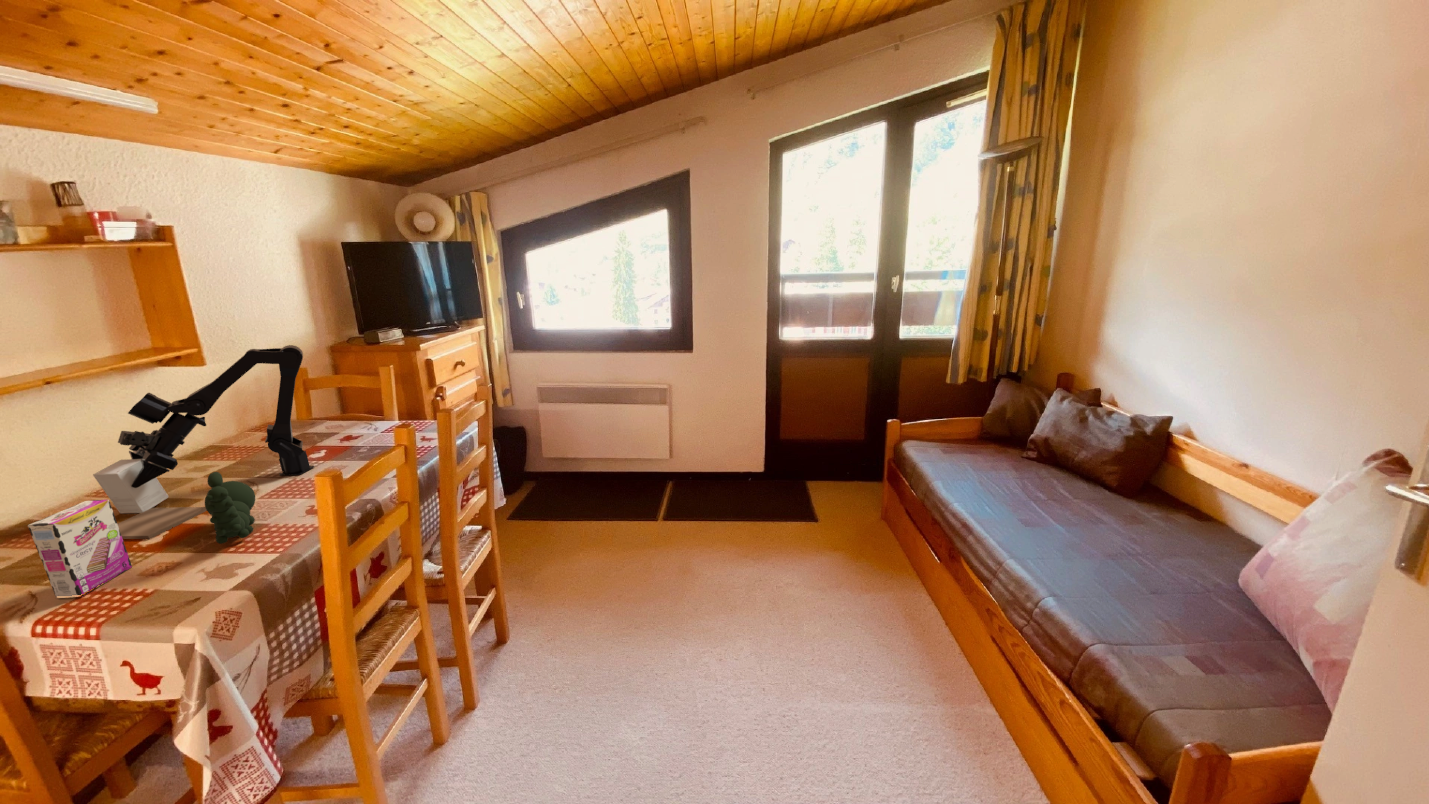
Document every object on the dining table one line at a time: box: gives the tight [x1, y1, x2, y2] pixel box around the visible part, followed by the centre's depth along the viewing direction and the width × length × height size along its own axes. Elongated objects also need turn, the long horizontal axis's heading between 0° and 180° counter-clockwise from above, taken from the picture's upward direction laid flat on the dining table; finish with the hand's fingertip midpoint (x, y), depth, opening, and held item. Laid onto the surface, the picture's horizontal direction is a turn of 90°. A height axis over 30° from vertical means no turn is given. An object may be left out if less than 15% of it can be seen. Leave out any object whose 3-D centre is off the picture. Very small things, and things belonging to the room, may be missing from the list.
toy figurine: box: [204, 471, 256, 545], centre depth 131 cm, size 9×19×25 cm
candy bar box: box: [27, 499, 133, 598], centre depth 111 cm, size 11×5×16 cm, turn 5°
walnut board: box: [117, 506, 208, 541], centre depth 138 cm, size 15×15×1 cm
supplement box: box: [92, 458, 169, 514], centre depth 145 cm, size 7×7×13 cm
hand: (129, 483), depth 144 cm, fingers closed on supplement box, 9 cm apart
